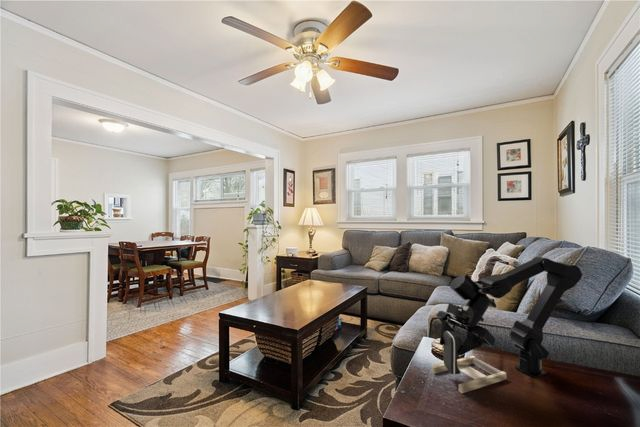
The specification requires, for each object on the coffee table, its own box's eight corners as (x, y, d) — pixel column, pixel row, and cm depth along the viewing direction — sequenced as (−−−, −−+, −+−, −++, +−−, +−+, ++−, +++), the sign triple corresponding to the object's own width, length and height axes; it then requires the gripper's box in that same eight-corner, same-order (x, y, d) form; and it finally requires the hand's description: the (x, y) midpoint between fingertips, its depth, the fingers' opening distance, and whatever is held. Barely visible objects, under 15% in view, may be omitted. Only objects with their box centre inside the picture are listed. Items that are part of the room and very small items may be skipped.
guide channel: (472, 361, 105) (472, 355, 105) (506, 379, 94) (506, 373, 94) (431, 372, 98) (431, 366, 98) (461, 393, 87) (461, 386, 87)
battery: (464, 375, 90) (464, 338, 90) (451, 375, 90) (451, 338, 90) (454, 363, 97) (454, 329, 97) (443, 363, 97) (442, 329, 97)
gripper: (439, 287, 104) (414, 323, 99) (487, 302, 86) (460, 347, 82) (456, 306, 107) (433, 342, 102) (506, 324, 89) (480, 369, 85)
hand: (449, 349), depth 93 cm, fingers closed on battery, 7 cm apart
